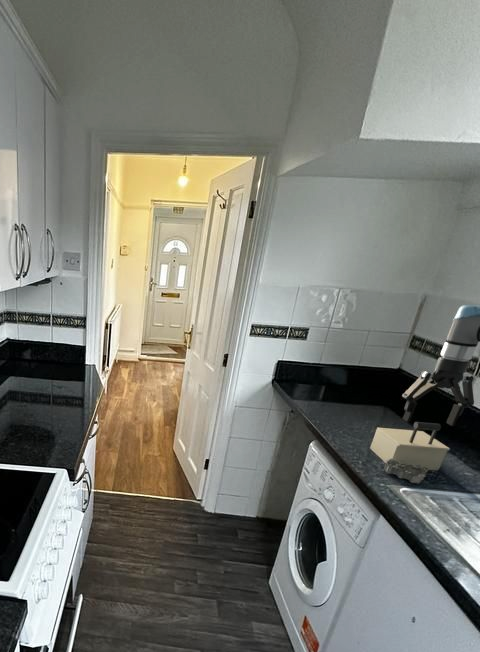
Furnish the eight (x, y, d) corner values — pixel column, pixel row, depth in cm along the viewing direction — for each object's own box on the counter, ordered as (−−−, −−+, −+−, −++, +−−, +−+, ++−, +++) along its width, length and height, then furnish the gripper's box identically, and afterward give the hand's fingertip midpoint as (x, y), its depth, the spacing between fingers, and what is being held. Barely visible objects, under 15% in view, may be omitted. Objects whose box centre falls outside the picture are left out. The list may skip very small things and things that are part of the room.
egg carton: (425, 479, 132) (431, 468, 130) (417, 486, 128) (422, 474, 126) (389, 464, 140) (393, 454, 138) (380, 470, 136) (384, 459, 134)
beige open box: (438, 470, 138) (447, 449, 135) (389, 466, 140) (397, 445, 136) (414, 452, 151) (422, 433, 148) (369, 448, 152) (376, 429, 149)
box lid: (449, 450, 134) (459, 428, 131) (398, 446, 136) (407, 423, 133) (422, 433, 148) (430, 412, 144) (376, 429, 149) (383, 408, 146)
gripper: (488, 358, 128) (460, 421, 137) (404, 352, 130) (381, 414, 139) (508, 364, 121) (477, 430, 130) (418, 357, 123) (394, 423, 132)
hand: (427, 422), depth 134 cm, fingers open, 13 cm apart
